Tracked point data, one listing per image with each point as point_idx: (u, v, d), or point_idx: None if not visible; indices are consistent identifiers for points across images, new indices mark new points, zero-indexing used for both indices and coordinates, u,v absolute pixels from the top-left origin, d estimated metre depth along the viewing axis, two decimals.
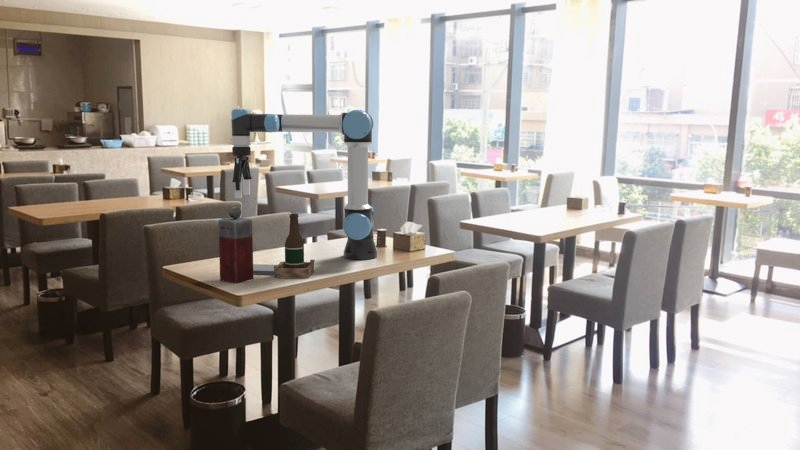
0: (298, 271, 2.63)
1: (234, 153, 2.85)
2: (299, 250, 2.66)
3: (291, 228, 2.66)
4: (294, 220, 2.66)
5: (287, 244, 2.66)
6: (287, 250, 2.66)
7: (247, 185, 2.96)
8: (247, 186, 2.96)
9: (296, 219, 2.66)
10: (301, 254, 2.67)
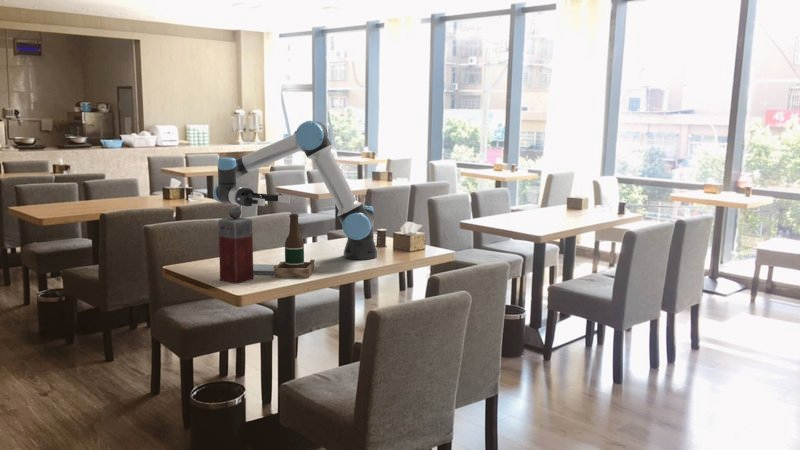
0: (298, 271, 2.63)
1: (241, 203, 2.81)
2: (299, 250, 2.66)
3: (291, 228, 2.66)
4: (294, 220, 2.66)
5: (287, 244, 2.66)
6: (287, 250, 2.66)
7: (282, 197, 2.79)
8: (283, 197, 2.79)
9: (296, 219, 2.66)
10: (301, 254, 2.67)
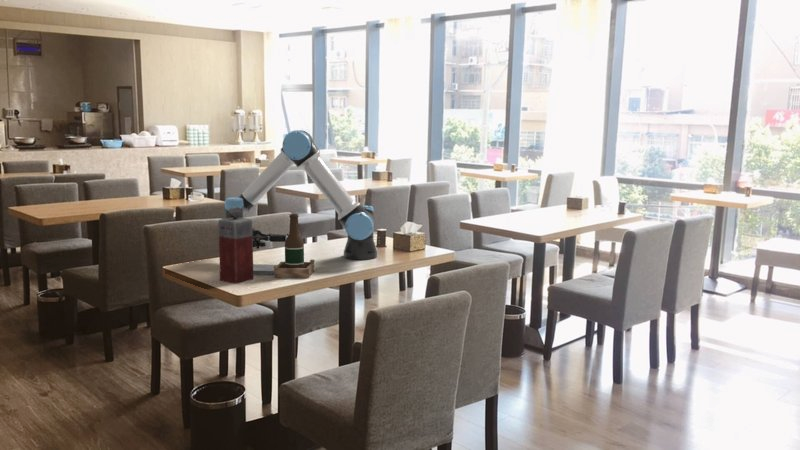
0: (298, 271, 2.63)
1: None
2: (299, 250, 2.66)
3: (291, 228, 2.66)
4: (294, 220, 2.66)
5: (287, 244, 2.66)
6: (287, 250, 2.66)
7: None
8: None
9: (296, 219, 2.66)
10: (301, 254, 2.67)
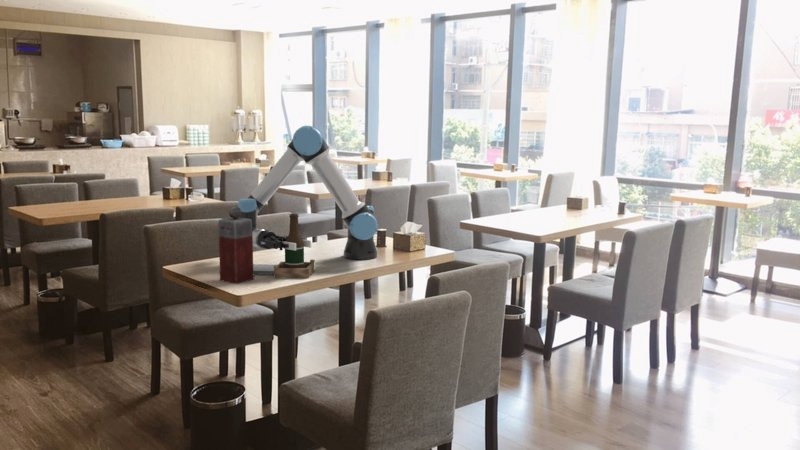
0: (298, 271, 2.63)
1: (263, 246, 2.76)
2: (299, 250, 2.66)
3: (291, 228, 2.66)
4: (294, 220, 2.66)
5: None
6: (287, 250, 2.66)
7: None
8: (303, 241, 2.70)
9: (296, 219, 2.66)
10: (301, 254, 2.67)
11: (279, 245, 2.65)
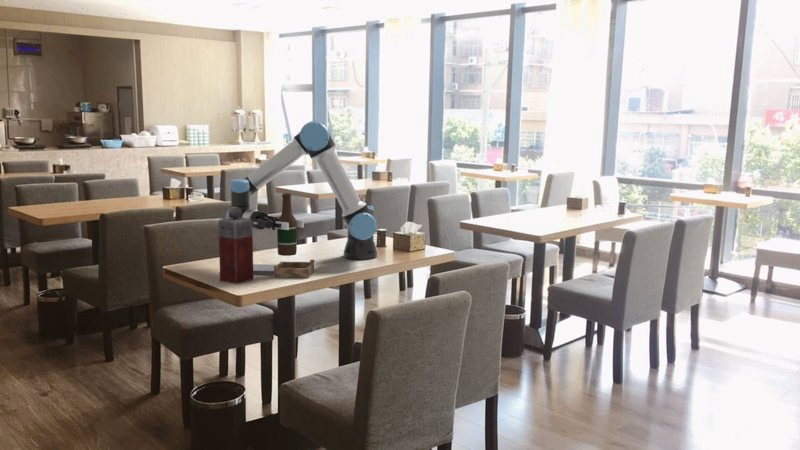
0: (298, 271, 2.63)
1: (255, 226, 2.75)
2: (292, 230, 2.66)
3: (284, 208, 2.66)
4: (287, 200, 2.65)
5: None
6: (280, 229, 2.66)
7: None
8: (296, 221, 2.70)
9: (289, 199, 2.66)
10: (294, 234, 2.67)
11: (271, 225, 2.65)
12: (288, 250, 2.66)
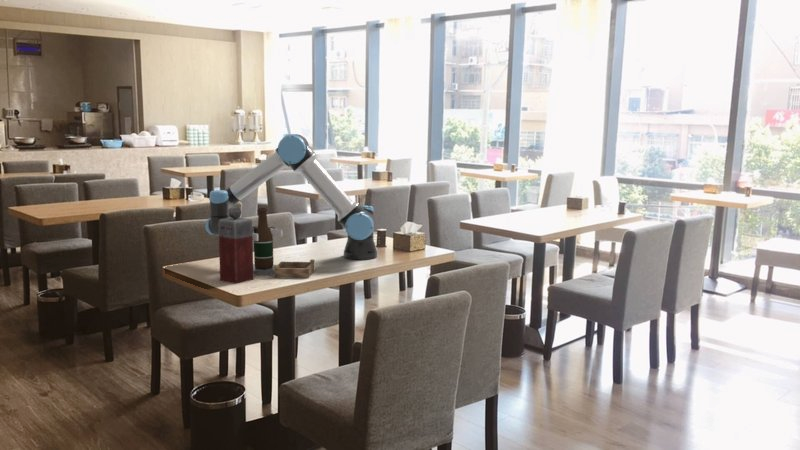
0: (298, 271, 2.63)
1: None
2: (268, 244, 2.70)
3: (259, 222, 2.70)
4: (262, 214, 2.70)
5: None
6: (256, 244, 2.70)
7: (274, 231, 2.77)
8: (275, 230, 2.77)
9: (264, 213, 2.70)
10: (270, 248, 2.71)
11: None
12: (265, 264, 2.71)
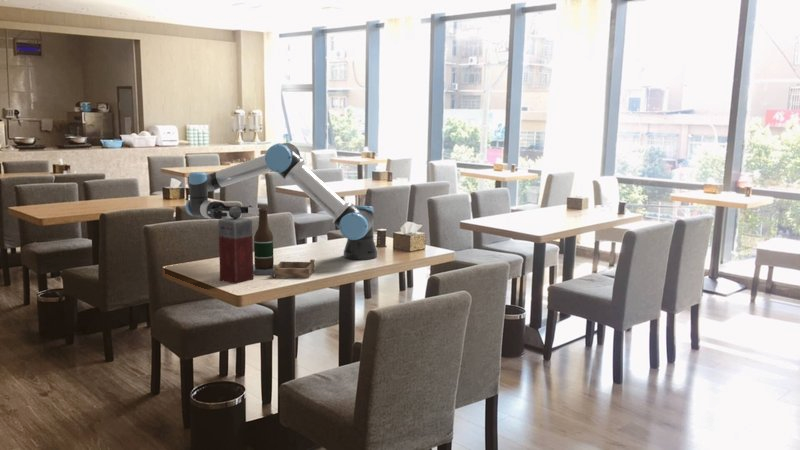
0: (298, 271, 2.63)
1: (212, 216, 2.87)
2: (268, 244, 2.71)
3: (260, 222, 2.70)
4: (263, 214, 2.70)
5: (257, 238, 2.70)
6: (256, 244, 2.70)
7: (251, 209, 2.86)
8: (252, 209, 2.85)
9: (265, 213, 2.70)
10: (270, 248, 2.71)
11: (217, 214, 2.76)
12: (265, 264, 2.71)
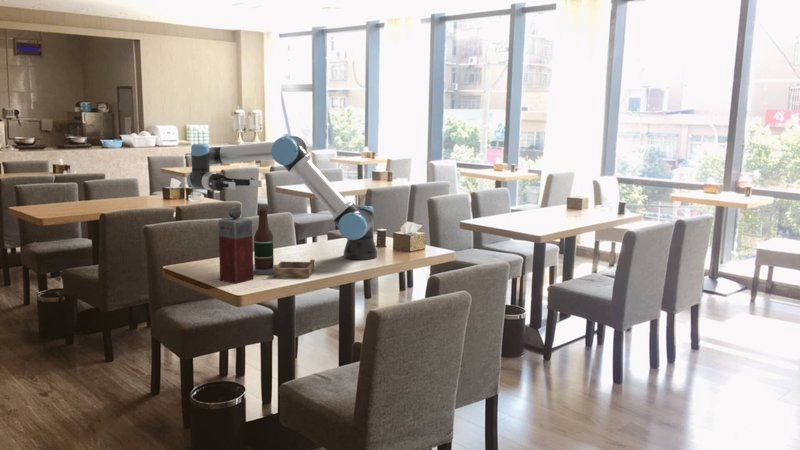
0: (298, 271, 2.63)
1: (213, 187, 2.87)
2: (268, 244, 2.71)
3: (260, 222, 2.70)
4: (263, 214, 2.70)
5: (256, 238, 2.70)
6: (256, 244, 2.70)
7: (253, 181, 2.85)
8: (254, 181, 2.85)
9: (265, 213, 2.70)
10: (270, 248, 2.71)
11: (219, 185, 2.75)
12: (265, 264, 2.71)
